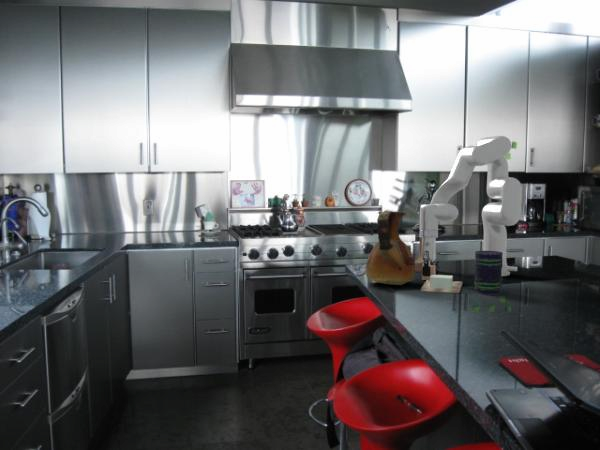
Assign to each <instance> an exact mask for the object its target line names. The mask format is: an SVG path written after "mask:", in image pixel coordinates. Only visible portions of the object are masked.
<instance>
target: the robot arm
mask: <svg viewBox="0 0 600 450" xmlns="http://www.w3.org/2000/svg"><path fill="white" fill-rule="evenodd" d="M511 150H512V142H511V140H510V138H509V137H507V136H505V135H497V136H496V135H495V136H489V137H488V136H487V137H482V138H480V139H478V140H477V142H476V144H475V145H471V146H465V147H463V148H461V149H460V150H459V152H457V153H458V154H457V155H456V158H455V161H454V163H453V166H452V167H451V170H450V173H449V175H448V177H447V179H446V180H445V181H444V182H443V183H441V185H440V186H439V188H438V189H437V190H436V191H435V193H434V195H433V197H432V198H431V201H430V203H429V204H428V203H425V204H424V203H423V204H421V205H420V207H419V238H420V237H421V238H422V261H423V267H422V273H421V277H422V276H430V270H431V267H430V265H434V262H435V260H436V259H437V254H436V253H437V252H436V251H437V250H436V249H437V248H436V247H437V244H436V243H437V242H436V240H437V239H438V237H439V222H445V223H447V222H453V221H455V220H456V219H457V218H458V217H459V209H458V208H457V206H455V205H453V204H452V203H448V202H449V201H450V199H451V198H452V197H453V196H454V195H455V194H456V193H458V192H459V191H460V192H461V191H462V190H464V189H465V188H466V187H467V186H468V185H469V181H470V179H471V177H472V175H473V172H474V170H475V169H476V167H483V166H486V168H487V177H486V178H487V179H486V194H487V196H488V197H489V198H491V199H493V200H501V202H497V201H496V202H489V203H487V204H486V205H484V207H483V208H482V210H481V220H482V224H483V227H482V228H483V250H482V251H498V252H502V253H503V255H502V260H503V263H502V265H503V266H502V275H501V277H508V276H510V275H511V272H518V266H510V265H508V263H507V246H508V245H507V244H508V243H507V241H508V240H507V239H508V237H507V236H508V233H507V229H506V226H507V227H510V226H515V225H516V224H518V222H519V220H520V218H521V214H522V204H523V203H522V200H523V187H522V184H521V182H520V180H518V178H515V177H512V176H511V177H510V176H509V163H508V160H507V158H506V156H507V155H508V154H509V153H510V151H511Z"/></svg>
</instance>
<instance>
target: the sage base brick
mask: <svg viewBox="0 0 600 450" xmlns="http://www.w3.org/2000/svg"><path fill="white" fill-rule="evenodd" d="M453 281H454V276H453V275H443V274H435V275H431V276H430V288H443V289H452V286H453Z"/></svg>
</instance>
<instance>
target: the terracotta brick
mask: <svg viewBox="0 0 600 450" xmlns="http://www.w3.org/2000/svg"><path fill="white" fill-rule="evenodd" d="M422 267H423V266H422ZM430 267H431V270H430V276H431V275H436V265H435V264H433V265H430ZM430 276H422V275H421V281H422V280H430Z"/></svg>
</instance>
